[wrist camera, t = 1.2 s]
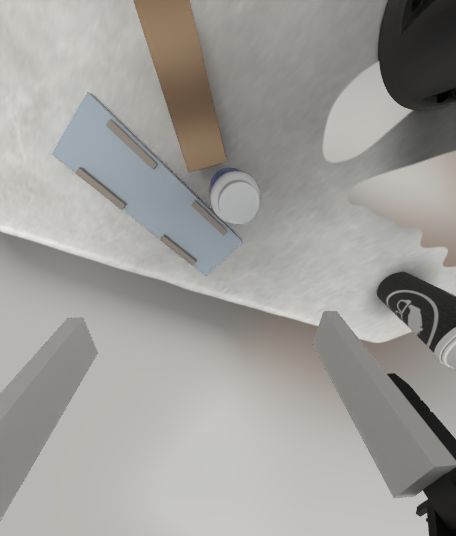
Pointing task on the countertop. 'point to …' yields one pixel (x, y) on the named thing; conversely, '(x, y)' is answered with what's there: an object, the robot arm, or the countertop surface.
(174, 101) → the frame
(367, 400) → the robot arm
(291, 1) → the countertop surface
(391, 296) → the coffee cup
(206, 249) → the ledge
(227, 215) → the pill bottle
